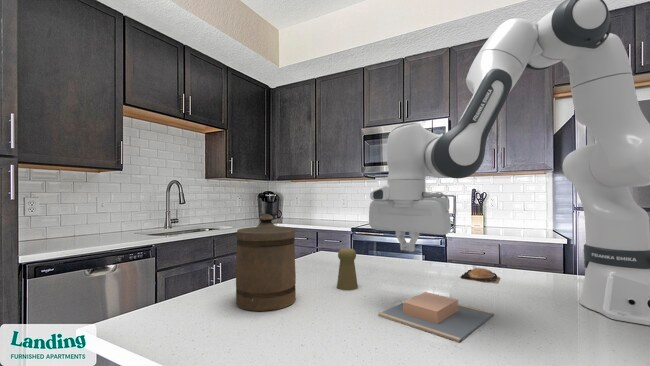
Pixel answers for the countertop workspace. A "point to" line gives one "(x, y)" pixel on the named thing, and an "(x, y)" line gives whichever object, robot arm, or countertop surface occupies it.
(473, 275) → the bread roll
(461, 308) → the mat
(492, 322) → the countertop surface
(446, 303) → the tile
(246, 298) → the wooden container
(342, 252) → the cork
